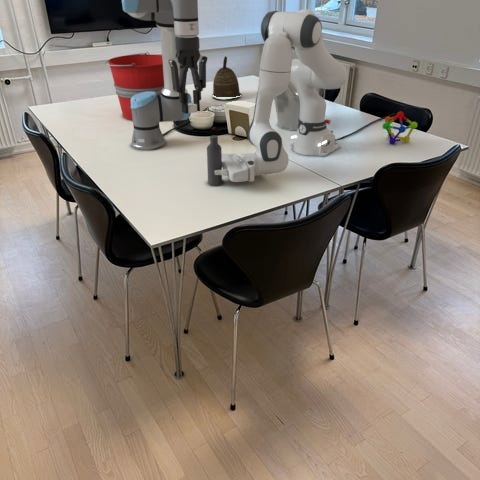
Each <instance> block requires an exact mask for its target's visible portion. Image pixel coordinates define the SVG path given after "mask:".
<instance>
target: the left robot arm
mask: <svg viewBox="0 0 480 480" xmlns="http://www.w3.org/2000/svg"><path fill="white" fill-rule="evenodd" d="M198 1H199V0H121V4H122V5H121V6H122V11H123V12H124V13H127V15H129V16H130V17H131V18H134V19H137V20H140V21H148V22H149V21H152V22H153V21H154V22H155V25H156V27H157V28H158V29H159V31H160V33H159V34H160V46H161V55H162V60H163V74H164V88H163V89H162V90H161V95H157V94H156V92H153V91H151V92H150V91H147V92H142V93H138V94H136V95H134V96H132V98H131V109H132V117H133V120H132V125H133V132H132V135H131V142H130V143H131V147H132V148H134V149H135V150H141V151H151V150H153V151H154V150H157V149H161V148H163V147H164V146H165V144H166V140H165V137H164V136H165V135H167V134H169V133H170V132H172V131H174V130H176V129H178V128H180V127H183V126H184V125H186V124H189V123H190V122H189V120H190V118H191V114H192V113H188V104H189V103H194V104H197V112H201V105H200V104H201V103H200V101H201V100H202V92H203V91H204V89H206V87H207V63H208V56H205V55H201V53H200V48H201V47H200V37H199V34H200V29H199V25H200V24H199V2H198ZM189 70H190V74H191V77H192V82H193V86H194V89H193V90H192V95H191V94H190V93H189V91H188V89H187V88H186V86H187V78H188V77H187V76H188V72H189ZM208 107H209V106H207V107H206V108H204V109H203V110H202V111H204V112H205V111H206V110H208V109H209V108H208ZM207 108H208V109H207ZM182 121H185V122H184V123H181V124H179V125H177V126H175V127H173V128H170V129H169V130H167V131H166V132H165V133H163V132H162V130H161V127H160V123H165V122H166V123H167V122H182Z"/></svg>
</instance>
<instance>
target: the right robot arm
mask: <svg viewBox="0 0 480 480" xmlns="http://www.w3.org/2000/svg"><path fill="white" fill-rule="evenodd" d="M260 23H261V24H260V34H261V38H262V40H263V41H264V44H263V48H262V52H261V56H260V63H259V73H258V85H257V92H256V97H255V105H254V111H253V117H252V120H251V122H250V125H249V127H248V129H247V133H246V137H247V140H248V142H249V143H250V145H252V146H254V147H255V148H256V149H255V152H251V153H250V152H249V153H241V154H240V155H238V154H237V153H222V170H219V169H215V170H214V173H215V175H222V177H223V176H224V177H225V176H226V177H227V178H228V179H229V181H230V182H233V183H242V182H247V181H248V182H255V177H257V176H259V175H274V174H278V173H281V172H284V171H285V170H286V169H287V167H288V165H289V154H288V152H287V151H286V150H285V147H284V145H283V138H282V136H281V135H280V133H278V131H277V130H275V129H274V128H273V127H272V125H271V122H270V119H271V112H272V107H273V101H275V100H274V98H275V97H276V96H278V95H281V94H282V93H283V92H285V91H286V89H287V87H288V84H289V81H290V82H291V83H292V84H293V85H294V87H295V88H296V90H297V92H298V95H299V99H300V118H299V119H298V129H297V130H296V133H295V135H291V136H290V139H294V142H293V144H292V146H293V151H294V152H295V153H297V154H300V155H303V156H309V157H310V156H311V157H312V156H313V157H314V156H316V157H317V156H319V157H326V156H328V155H329V154H331V153H332V152H334V151H336V150H337V149H340V144H339V143H337V142H335V141H339V140H340V141H341V140H343V139H345V138H348V137H350V136H352V135H355V134H357V133H358V132H360V131H361V130H363V129H365V128H367V127H369V126H370V125H372V124H374V123H376V122H378V121H381V120H385V118H386V117H390V118H391V117H393V116H396V115H397V113H391V114H389V115H386V116H383V117H380V118H377V119H375V120H373V121H370V122H369V123H367V124H365V125H364V126H362V127H361V128H358V129H357V130H355V131H353V132H351V133H348V134H346V135H343V136H341V137H339V138H337V139H336V136H335V133H334V131H333V130H330V129H329V128H328V127H327V125H331V123H332V120H331V119H328V118H326V111H327V103H326V100H325V97H324V98H323V96H322V97H321V96H320V95H319V94H318V93H317V91H316V88H322V89H325V90H337V89H341V88H342V87H343V86H344V84H345V83H346V81H347V77H348V70H347V67H346V66H345V64H343V63H342V62H340V61H338V60H337V59H336V58H334V57H333V55H332V54H331V53H330V51H328V48H327V47H326V44H325V41H324V36H323V33H322V32H323V31H322V30H323V25H322V22H321V19H320V18H319V17H317V15H316V14H315V13H314V12H313V11H312V10H310V9H308V8H302V9H300V10H298V11H279V10H272V11H268V12H266V13H265V15H264V16H263V18H262V20H261V22H260ZM292 47H293V48H294V50H295V54H296V57H297V58H293V49H292Z"/></svg>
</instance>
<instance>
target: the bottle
mask: <svg viewBox="0 0 480 480" xmlns="http://www.w3.org/2000/svg"><path fill="white" fill-rule="evenodd" d="M209 142H210V143H209V144H208V145H207V146H206V165H207V184H208V185H209V186H212V187H218V186H222V185H223V175H215V173H214V170H215V169H219V170H223V168H222V154H223V153H222V150H223V149H222V146H221V145H220V144H219V136H218V135H214V134H213V135H210V136H209Z"/></svg>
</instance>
